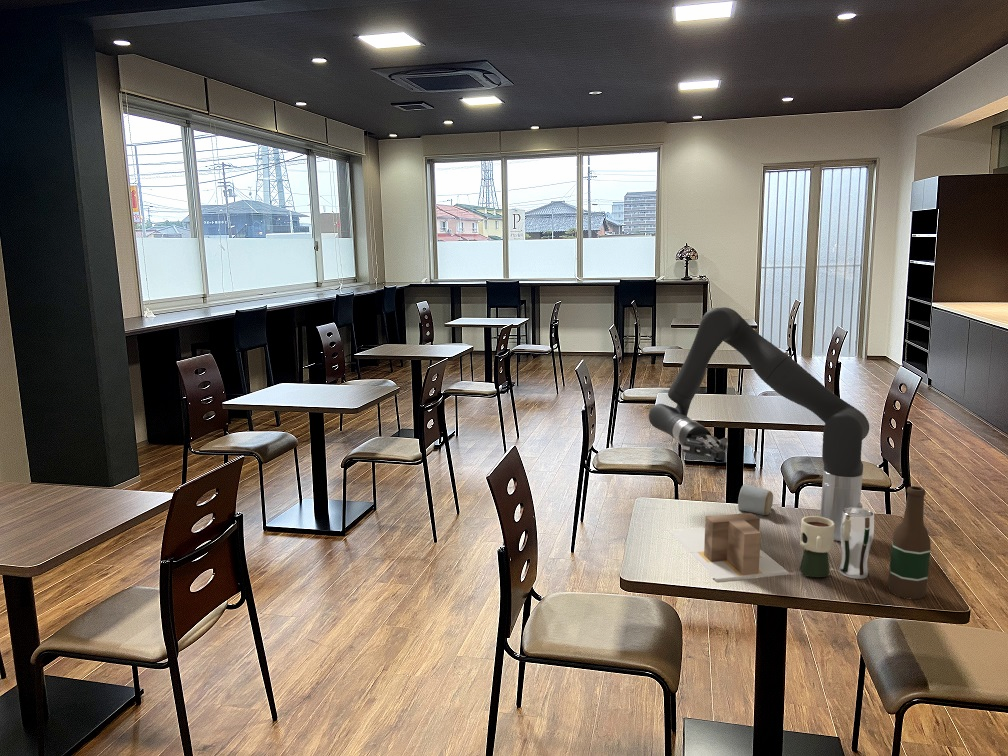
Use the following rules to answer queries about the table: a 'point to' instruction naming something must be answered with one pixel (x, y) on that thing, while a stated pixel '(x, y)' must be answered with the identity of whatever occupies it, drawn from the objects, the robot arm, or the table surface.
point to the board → (722, 569)
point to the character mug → (816, 545)
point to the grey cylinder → (755, 500)
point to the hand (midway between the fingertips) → (721, 455)
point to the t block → (734, 541)
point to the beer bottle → (910, 550)
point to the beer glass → (856, 541)
